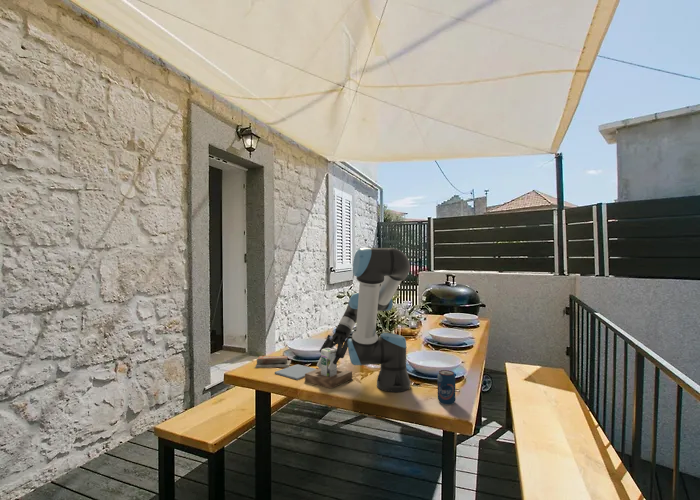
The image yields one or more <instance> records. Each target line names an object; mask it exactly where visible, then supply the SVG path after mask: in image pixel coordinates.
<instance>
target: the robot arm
mask: <svg viewBox="0 0 700 500" xmlns="http://www.w3.org/2000/svg"><path fill="white" fill-rule="evenodd" d="M352 263H353V264H352V273H353V276H355V278H356V281H357V282H358V283H359V285H358V286H359V288H358V292H355V293H353V294H352V295H351V296H350V297H349V300H348V303H347V304H348V305H347V307H346V309H345V312H344V313H343V315H342V316H341V318H340V321H339V322H338V324H337V326H336V328H335V330H334V333H333V334H332V335H330V334H328V335H327V337H326V339H325V341H324V343H323V344H322V346H321V348H319V353H321V350H322V349H325V348H331V349H334V347H335V346H337V347H336V350H337V351H336V355H335V356H334V357H333V359H332V360H331V362H330V364H329V366H328V369H329V370H330V371H332V369H333V367H334V365H336V364H337V365H338V362H339V360H340V359H344V358H345V356H346V353H347V351H348V356H349V360H350V363H351V364H352V365H353V366H368V365H371V366H372V365H380V368H379V369H380V370H379V373H378V375H377V379H376V387H377V388H378V389H379V390H381V391H385V392H389V393H401V392H406V391H409V390H410V389H411V379H410V376H409V373H408V370H407V339H406V338H405V337H404V336H403V335H401V334H400V335H399V334H396V333H390V332H383V333H380V336H379V335H378V334H377V332H376V328H377V320H378V319H377V318H378V312H385V311H391V310H392V308H393V306H394V305H393V304H394V303H393V297H394V295H395V294H396V291H397V290H398V288H399V286H400V285H401V283H402V281H405V280H406V279H407V277H408V276H409V273H410V270H411V264H410V261H409V258H408V257H407V255H406V254H405V253H404V252H403V251H402V250H400V249H397V248H394V247H361V248H358V249H357V250H356V252H355V254H354V256H353V262H352ZM354 327H355V331H353V333H352V330H353V329H354ZM351 333H352V334H351ZM350 335H351V337H350ZM316 366H317V369H319V368H321V355H320V356H319V357H318V361H317V364H316Z"/></svg>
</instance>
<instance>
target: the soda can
mask: <svg viewBox="0 0 700 500" xmlns="http://www.w3.org/2000/svg"><path fill="white" fill-rule="evenodd" d="M454 373H455V372H453V371H452V370H449V369H448V370H447V369H443V370H442V369H441V370H438V374H437V400H438V402H439V403H440V404H441V405H444V406H445V405H446V406H451V405H452V406H453V405H454V404H455V402H456V376H455V374H454Z"/></svg>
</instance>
